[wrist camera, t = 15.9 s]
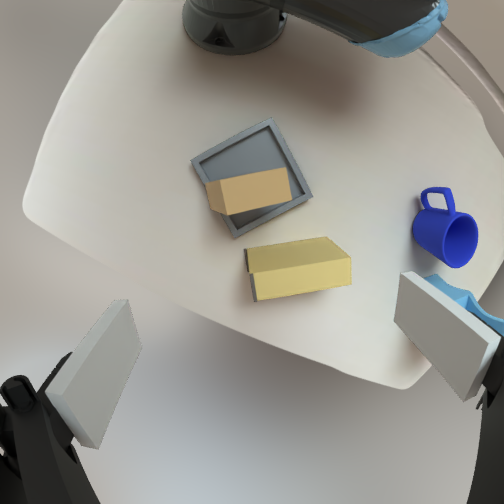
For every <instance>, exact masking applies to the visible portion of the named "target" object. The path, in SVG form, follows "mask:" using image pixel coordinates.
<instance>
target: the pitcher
mask: <svg viewBox="0 0 504 504" xmlns="http://www.w3.org/2000/svg"><path fill="white" fill-rule="evenodd" d="M423 279H424V280H426V281H427V282H429V283H430V284H432V285H433V286H434V287H436V288H437V289H439V290H440V291H441V292H443V293H444V294H446V295H447V296H448V297H450V298H451V299H452V300H454V301H455V302H457V303H458V304H459V305H461V306H462V307H463V308H465V309H466V310H468V311H470V312H473V313H475V314H476V315H477V316H479V317H480V318H481V320H484V321H485V322H486V323H487V325H488V324H489V325H490V326H491V327H493V328H494V329H495V330H496V331H498V332H499V333H500V334H501V335H503V336H504V319H500V318H497V317H494V316H492V315H490V314H488V313H486V312H485V311H484V310H483V309H482V308H481V307H480V306H479V304H478V303H477V301H476V299H475V298H474V296H473V294H472V293H471V292H470V291H468V290H463V289H459V288H456V287H453V286H451V285H449V284H448V283H446V282H445V281H444V280H443V279H442V278H441V277H440V276H439V275H438V274H434V275H431V276H428V277H426V278H423Z"/></svg>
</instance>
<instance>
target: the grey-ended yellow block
mask: <svg viewBox="0 0 504 504" xmlns="http://www.w3.org/2000/svg"><path fill="white" fill-rule="evenodd" d="M244 252H245V258H246V264H247V271H248V272H249V273H250V280H251V286H252V292H253V299H254V302H257V301H259V300H265V299H272V298H278V297H284V296H290V295H296V294H302V293H307V292H313V291H319V290H324V289H330V288H335V287H340V286H345V285H351V284H352V281H351V257H350V256H349V255H348V254H347V253H345V252H344V251H343V250H342V249H341V248H340V247H338V246H337V245H336V244H335V243H334V242H333V241H331V240H330V239H329V238H328V237H320V238H314V239H307V240H300V241H294V242H287V243H281V244H274V245H267V246H261V247H254V248H248V249H247V254H248V260H247V254H246V249H244ZM248 264H249V266H248Z"/></svg>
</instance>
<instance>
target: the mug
mask: <svg viewBox="0 0 504 504" xmlns="http://www.w3.org/2000/svg"><path fill="white" fill-rule="evenodd" d="M428 193H441V194H443V195H444V197H445V200H446V204H447V208H448V210H444V209H438V208H432V207H431V206H430V205H429V202H428V199H427V194H428ZM421 202H422V204H423V206H424V208H425V209H424V210H422V211H421V212H419V213H418V215H417V216H416V218H415V220H414V224H413V235H414V238H415V240H416V241H417V243H418V244H419V245H420V246H421V247H423V248H424V249H426V250H427V251H429V252H430V253H431V254H433V255H434V256H436V257H437V258H438V259H440V260H441V261H443V262H444V263H445V264H447V265H448V266H449V267H451V268H460V267H462V266H464V265H465V264H467V263H468V262H469V260H470V259H471V258H472V256H473V254H474V252H475V250H476V247H477V243H478V228H477V224H476V222H475V220H474V219H473V217H472V216H470V215H469V214H466V213H461V212H456V211H455V203H454V199H453V195H452V192H451V189H450V188H446V187H431V188H427V189H425V190H424V191H422V193H421Z"/></svg>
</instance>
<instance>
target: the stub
mask: <svg viewBox="0 0 504 504" xmlns="http://www.w3.org/2000/svg"><path fill="white" fill-rule="evenodd" d="M205 186H206V191H207V195H208V200H209V204H210V209H211V210H214V211H217V212H219V213H222V214H225V215H227V216H228V215H232V214H236V213H240V212H244V211H248V210H252V209H256V208H261V207H265V206H269V205H273V204H278V203H282V202H287V201H291V200H292V196H291V191H290V185H289V180H288V175H287V169H286V167H284V168H278V169H272V170H266V171H260V172H255V173H250V174H245V175H240V176H235V177H230V178H226V179H221V180H216V181H212V182H208V183H205Z"/></svg>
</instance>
